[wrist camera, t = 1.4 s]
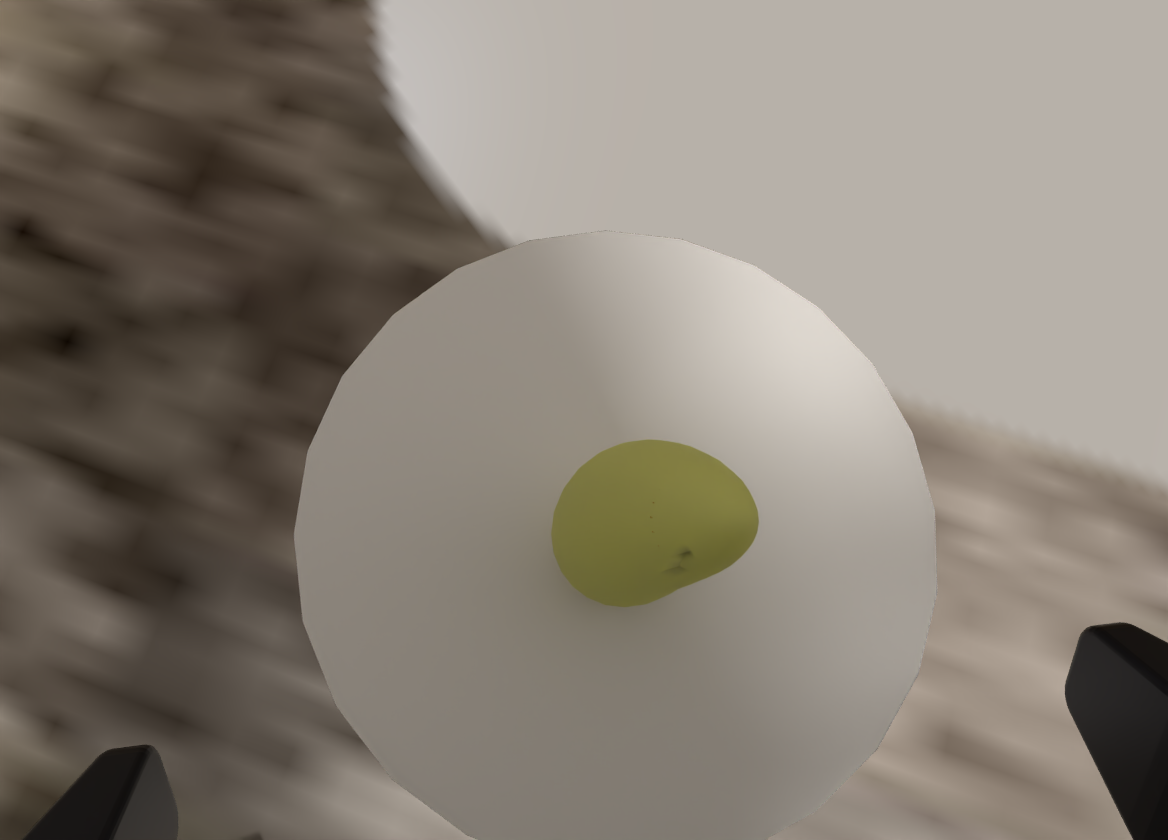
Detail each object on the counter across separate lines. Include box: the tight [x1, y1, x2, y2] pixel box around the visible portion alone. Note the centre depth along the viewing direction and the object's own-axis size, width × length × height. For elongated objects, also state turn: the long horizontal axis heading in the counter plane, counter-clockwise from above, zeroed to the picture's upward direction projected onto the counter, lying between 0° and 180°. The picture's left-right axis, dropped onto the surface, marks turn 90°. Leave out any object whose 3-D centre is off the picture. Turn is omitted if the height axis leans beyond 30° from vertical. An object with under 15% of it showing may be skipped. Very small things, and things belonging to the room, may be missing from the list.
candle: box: [294, 231, 937, 840], centre depth 12 cm, size 6×6×15 cm
